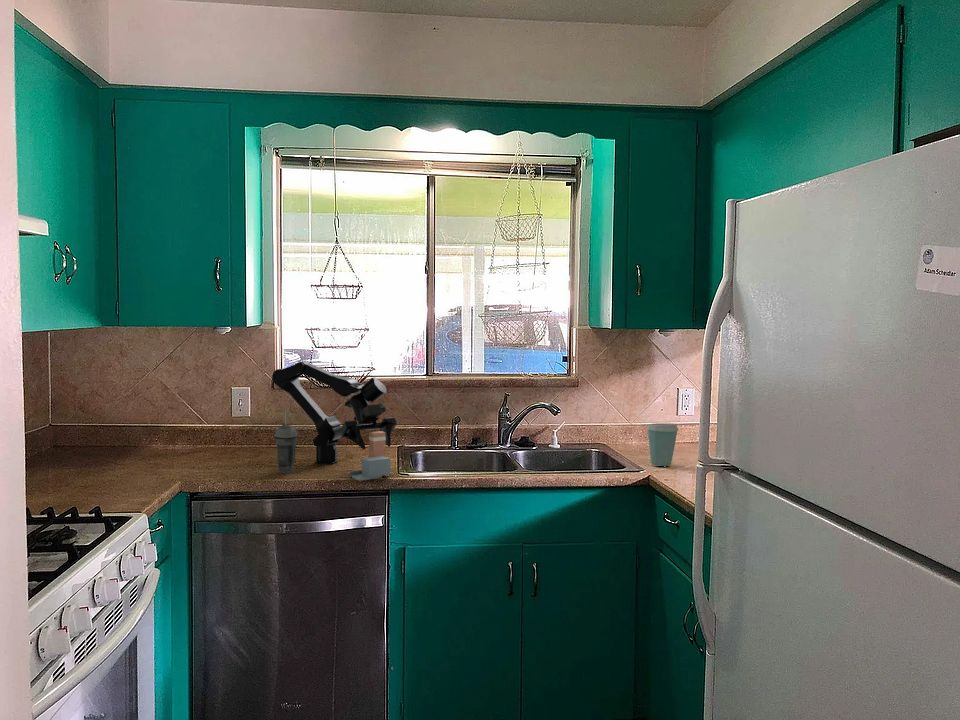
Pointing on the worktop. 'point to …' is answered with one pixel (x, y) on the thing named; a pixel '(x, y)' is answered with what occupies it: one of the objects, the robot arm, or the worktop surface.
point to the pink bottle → (377, 444)
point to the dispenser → (372, 468)
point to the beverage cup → (286, 447)
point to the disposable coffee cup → (662, 442)
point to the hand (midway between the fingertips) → (377, 447)
